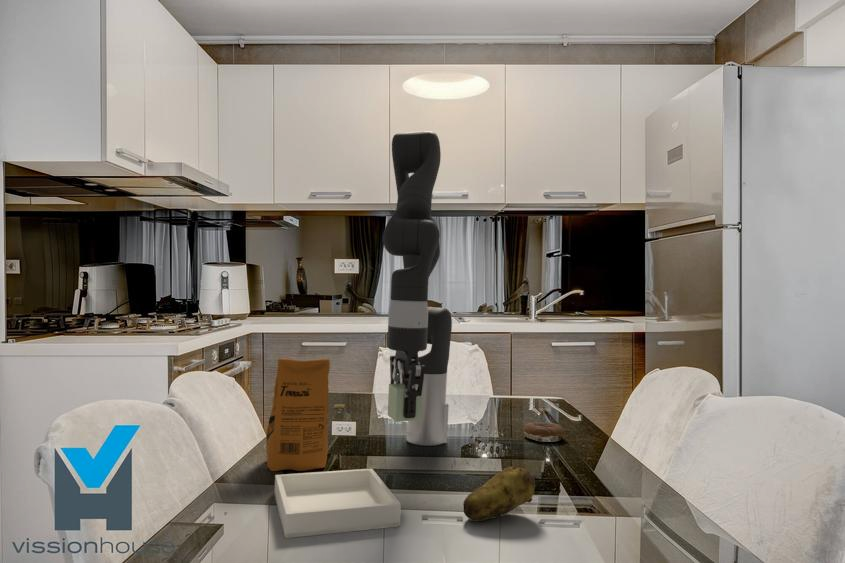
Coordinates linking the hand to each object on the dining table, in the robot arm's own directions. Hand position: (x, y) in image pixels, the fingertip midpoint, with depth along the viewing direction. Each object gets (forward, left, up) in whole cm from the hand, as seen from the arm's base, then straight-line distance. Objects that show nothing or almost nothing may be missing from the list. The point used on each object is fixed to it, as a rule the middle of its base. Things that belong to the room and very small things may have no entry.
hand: (404, 413), depth 105 cm
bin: (+14, +8, -14) cm, 21 cm away
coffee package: (+17, -17, -14) cm, 28 cm away
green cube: (0, 0, -1) cm, 1 cm away
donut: (-48, -26, -14) cm, 56 cm away
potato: (-12, +17, -14) cm, 25 cm away
